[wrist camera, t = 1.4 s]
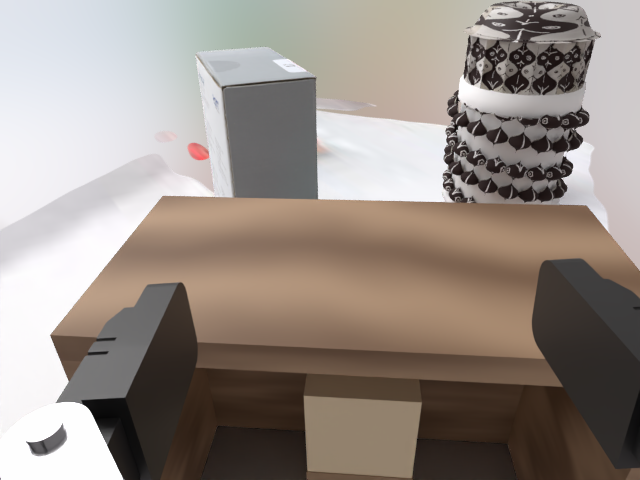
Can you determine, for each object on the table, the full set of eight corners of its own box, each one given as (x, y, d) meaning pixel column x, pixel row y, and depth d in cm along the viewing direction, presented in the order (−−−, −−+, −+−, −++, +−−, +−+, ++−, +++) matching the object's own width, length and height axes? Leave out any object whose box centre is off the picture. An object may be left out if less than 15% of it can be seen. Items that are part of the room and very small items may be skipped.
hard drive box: (322, 289, 47) (318, 76, 37) (244, 306, 45) (216, 86, 35) (280, 216, 60) (268, 43, 50) (217, 228, 58) (191, 49, 47)
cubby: (576, 619, 24) (718, 367, 15) (149, 581, 26) (50, 335, 17) (519, 431, 33) (586, 205, 24) (207, 413, 35) (162, 195, 26)
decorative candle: (447, 362, 39) (502, 18, 26) (409, 292, 47) (437, 0, 34) (553, 347, 40) (658, 10, 27) (499, 281, 48) (560, -5, 35)
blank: (403, 553, 27) (423, 403, 21) (310, 545, 27) (302, 396, 21) (398, 467, 31) (413, 322, 25) (318, 462, 32) (313, 318, 25)
